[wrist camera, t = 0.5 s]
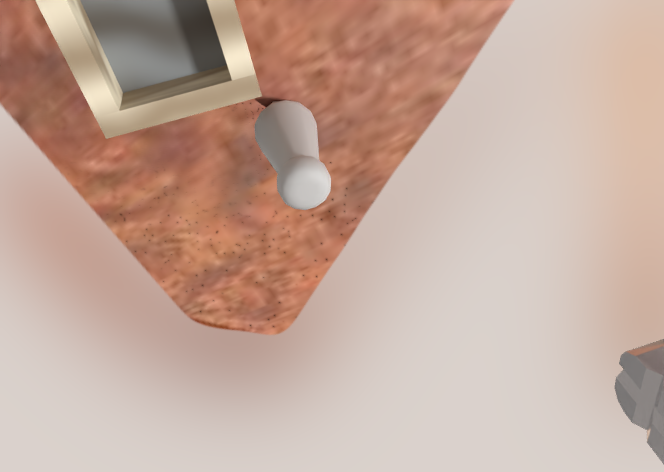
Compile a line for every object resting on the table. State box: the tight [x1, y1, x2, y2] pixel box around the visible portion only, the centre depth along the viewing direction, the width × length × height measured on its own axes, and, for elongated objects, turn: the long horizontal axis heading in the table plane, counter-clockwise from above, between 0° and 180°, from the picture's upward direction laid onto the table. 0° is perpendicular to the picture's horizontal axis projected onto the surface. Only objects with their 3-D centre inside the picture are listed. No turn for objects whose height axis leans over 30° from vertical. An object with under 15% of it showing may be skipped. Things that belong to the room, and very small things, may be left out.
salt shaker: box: [255, 100, 331, 210], centre depth 48 cm, size 6×6×13 cm
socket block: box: [36, 0, 262, 139], centre depth 44 cm, size 14×14×4 cm
